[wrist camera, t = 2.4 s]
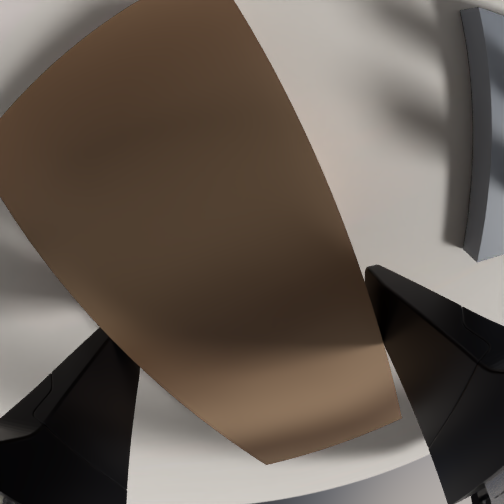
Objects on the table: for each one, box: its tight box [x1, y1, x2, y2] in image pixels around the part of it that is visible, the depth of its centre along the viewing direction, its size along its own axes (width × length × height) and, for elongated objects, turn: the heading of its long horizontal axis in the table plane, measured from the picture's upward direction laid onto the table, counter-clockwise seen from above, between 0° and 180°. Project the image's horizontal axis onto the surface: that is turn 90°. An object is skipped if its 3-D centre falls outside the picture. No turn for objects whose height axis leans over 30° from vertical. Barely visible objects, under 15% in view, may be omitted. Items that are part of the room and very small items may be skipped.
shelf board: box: [0, 0, 402, 465], centre depth 9 cm, size 16×6×3 cm, turn 27°
